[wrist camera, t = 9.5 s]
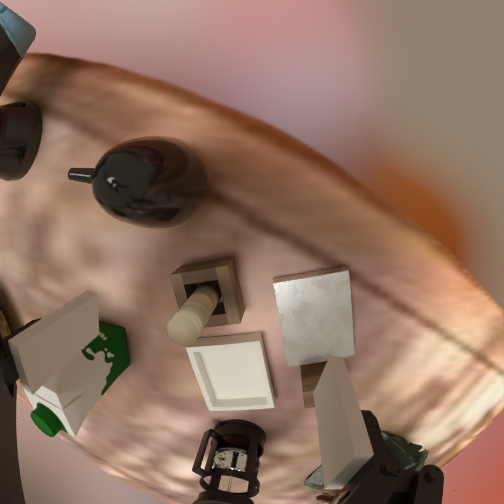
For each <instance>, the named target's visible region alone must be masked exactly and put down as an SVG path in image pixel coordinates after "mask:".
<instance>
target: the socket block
mask: <svg viewBox="0 0 504 504" xmlns="http://www.w3.org/2000/svg"><path fill="white" fill-rule="evenodd" d="M170 278H171V282H172V285H173V289H174V293H175V296H176V300H177V303H178V307H179V309H180V308H181V307H182V306H183V304H184V303H185V302H186V301H187V300H188V298H189V297H190V296H191V295H192V294H193V293H194V291H195V290H196V289H197V286H196V283H200V282H206V281H213V280H218V282H219V286H220V290H221V294H222V299H223V302H222V303H218V304H217V305H216V307H215V309H214V311H213V313H212V314H211V316H210V318H209V320H208V321H207V323H206V325H205V327H212V326H221V325H230V324H239V323H241V320H242V317H243V314H244V311H245V308H244V304H243V299H242V295H241V290H240V285H239V281H238V276H237V272H236V267H235V262H234V257H233V258H227V259H221V260H215V261H209V262H203V263H197V264H191V265H186V266H181V267H180V268H178V269H177V270H176V271H174V272H173V273H172V274H170Z"/></svg>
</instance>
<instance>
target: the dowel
mask: <svg viewBox="0 0 504 504" xmlns="http://www.w3.org/2000/svg"><path fill="white" fill-rule="evenodd" d="M221 297H222V294H221V290H220V286H219V282H218V280H213V281H206V282H202V283H201V284H200V286H199V287H198V288H197V289H196V290H195V291H194V293H193V294H192V295H191V296H190V297H189V298H188V300H187V301H186V302H185V303H184V304H183V306H182V307H181V308H180V309H179V310H178V311H177V313H176V314H175V315H174V316H173V317H172V319H171V320H170V321H169V322H168V325H167V332H168V335H169V336H170V338H171V339H172V340H173V341H174V342H175V343H177V344H179V345H182V346H190V345H193V344H194V343H195V342H196V341H197V339H198V338H199V336H200V334H201V332H202V330H203V329H204V327H205V325H206V323H207V321H208V320H209V318H210V316H211V314H212V313H213V311H214V309H215V307H216V305H217V304H218V302H219V300H220V298H221Z"/></svg>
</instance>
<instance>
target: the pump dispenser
mask: <svg viewBox="0 0 504 504" xmlns="http://www.w3.org/2000/svg"><path fill="white" fill-rule="evenodd" d="M68 178H69V179H70V180H74V181H79V182H84V183H89V184H92V190H93V194H94V197H95V199H96V201H97V203H98V204H99V205H100V207H101V208H102V209H103V210H104V211H105V212H107V213H108V214H109V215H111V216H112V217H114V218H116V219H118V220H120V221H122V222H125V223H128V224H131V225H134V226H138V227H143V228H154V229H161V228H169V227H173V226H176V225H179V224H181V223H183V222H184V221H186V220H187V219H189V218H190V217H191V216H192V215H193V214H194V213H195V212H196V210H197V209H198V208H199V206H200V204H201V202H202V200H203V198H204V195H205V191H206V185H207V176H206V170H205V166H204V163H203V161H202V159H201V157H200V156H199V154H198V153H197V152H196V150H195V149H194V148H193V147H191V146H190V145H189V144H187V143H185V142H183V141H181V140H179V139H176V138H172V137H165V136H147V137H140V138H136V139H131V140H128V141H125V142H122V143H120V144H118V145H116V146H114V147H113V148H111V149H110V150H108V151H107V152H106V153H105V154H104V155H103V156H102V157H101V159H100V160H99V161H98V163H97V165H96V167H95V168H71V169H70V170H69V171H68Z"/></svg>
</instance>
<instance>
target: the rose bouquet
mask: <svg viewBox="0 0 504 504" xmlns="http://www.w3.org/2000/svg"><path fill="white" fill-rule="evenodd" d="M381 434H382V435H383V438H384V441H385V444H386V447H387V450H388V453H389V456H390V458H392V459H395V460H396V461H398V462H399V463H400V464H401V466H402V468H403V469H408V470H414V471H419V470H420V469H421V468H422V467H423V466H424V461H425V460H426V458H427V455H428V451H427V450H426V449H425V450H424V451H421V452H419V450H420V449H421V448H422V446H420V445H416V444H413V443H410V444H408V443H407V441H406V440H404V439H402V438H400V437H398V436H393V435H390V436H388V435H387V434H385V433H383V432H382V433H381ZM304 485H306V486H309V487H311V488H313V489H324V481H323V470H322V466H320V467H319V468H318V469H317V470H316V471H315V473H313V474H312V476H311V477H310V478H309V479H308V480H306V483H305V484H304ZM338 490H339V491H338V492H337V493H336V495H335V496H330V494H329V493H322V494H323V495H319V496H317V497H316V499H317V500H321V501H322V503H327V502H328V503H329V504H337V502H338V501H339V500H338V499H340V498H341V497H342V496H343V495H344V494H345V493H346V492H347V491H348V490H349V487H348V483H347V484H346V485H345V486H344V487H343V488H342V489H338ZM324 501H325V502H324Z"/></svg>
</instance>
